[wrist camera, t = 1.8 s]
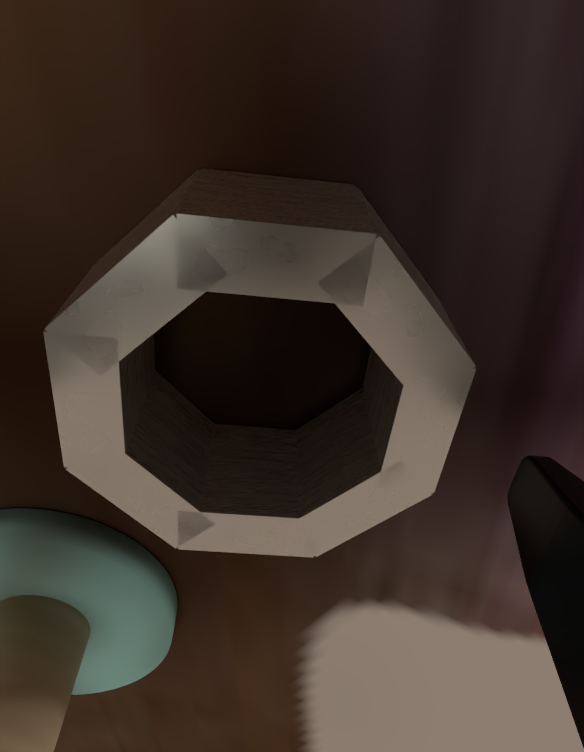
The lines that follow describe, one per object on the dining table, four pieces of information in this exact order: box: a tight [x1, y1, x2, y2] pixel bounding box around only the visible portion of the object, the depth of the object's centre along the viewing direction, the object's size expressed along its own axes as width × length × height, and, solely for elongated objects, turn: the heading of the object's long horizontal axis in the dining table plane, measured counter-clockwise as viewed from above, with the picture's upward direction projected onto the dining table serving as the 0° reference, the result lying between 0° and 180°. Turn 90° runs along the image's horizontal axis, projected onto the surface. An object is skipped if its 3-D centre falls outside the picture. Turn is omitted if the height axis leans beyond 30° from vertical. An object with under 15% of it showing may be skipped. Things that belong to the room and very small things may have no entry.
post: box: [0, 508, 178, 752], centre depth 15 cm, size 8×8×6 cm
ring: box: [43, 168, 476, 557], centre depth 11 cm, size 7×7×3 cm
